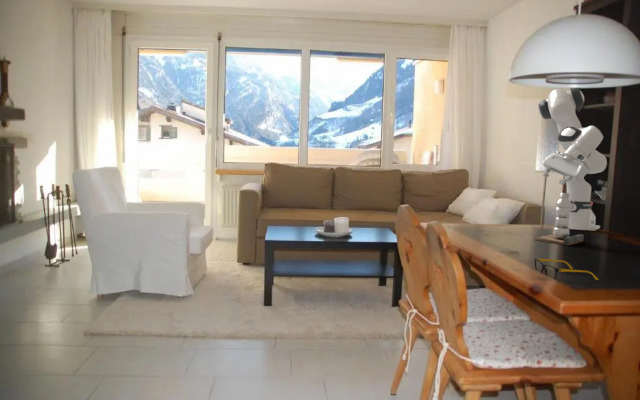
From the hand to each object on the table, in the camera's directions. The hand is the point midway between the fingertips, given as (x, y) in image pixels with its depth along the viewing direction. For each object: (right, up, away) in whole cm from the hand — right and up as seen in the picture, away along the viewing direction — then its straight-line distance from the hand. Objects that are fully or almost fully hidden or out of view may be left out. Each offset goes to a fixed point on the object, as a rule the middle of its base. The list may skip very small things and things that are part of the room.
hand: (552, 180), depth 228 cm
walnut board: (+1, -27, -5) cm, 27 cm away
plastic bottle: (+1, -26, -5) cm, 27 cm away
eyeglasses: (-26, -33, -64) cm, 77 cm away
